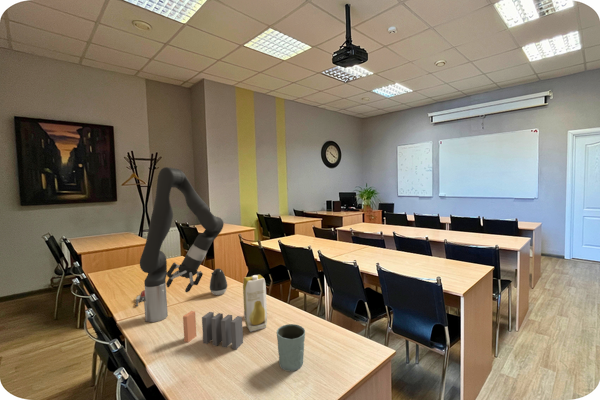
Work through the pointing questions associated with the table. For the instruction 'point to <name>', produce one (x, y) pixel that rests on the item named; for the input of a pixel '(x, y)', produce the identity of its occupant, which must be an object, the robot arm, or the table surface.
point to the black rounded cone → (218, 282)
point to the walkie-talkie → (140, 298)
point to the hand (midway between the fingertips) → (177, 289)
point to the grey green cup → (291, 346)
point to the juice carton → (255, 302)
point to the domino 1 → (189, 326)
